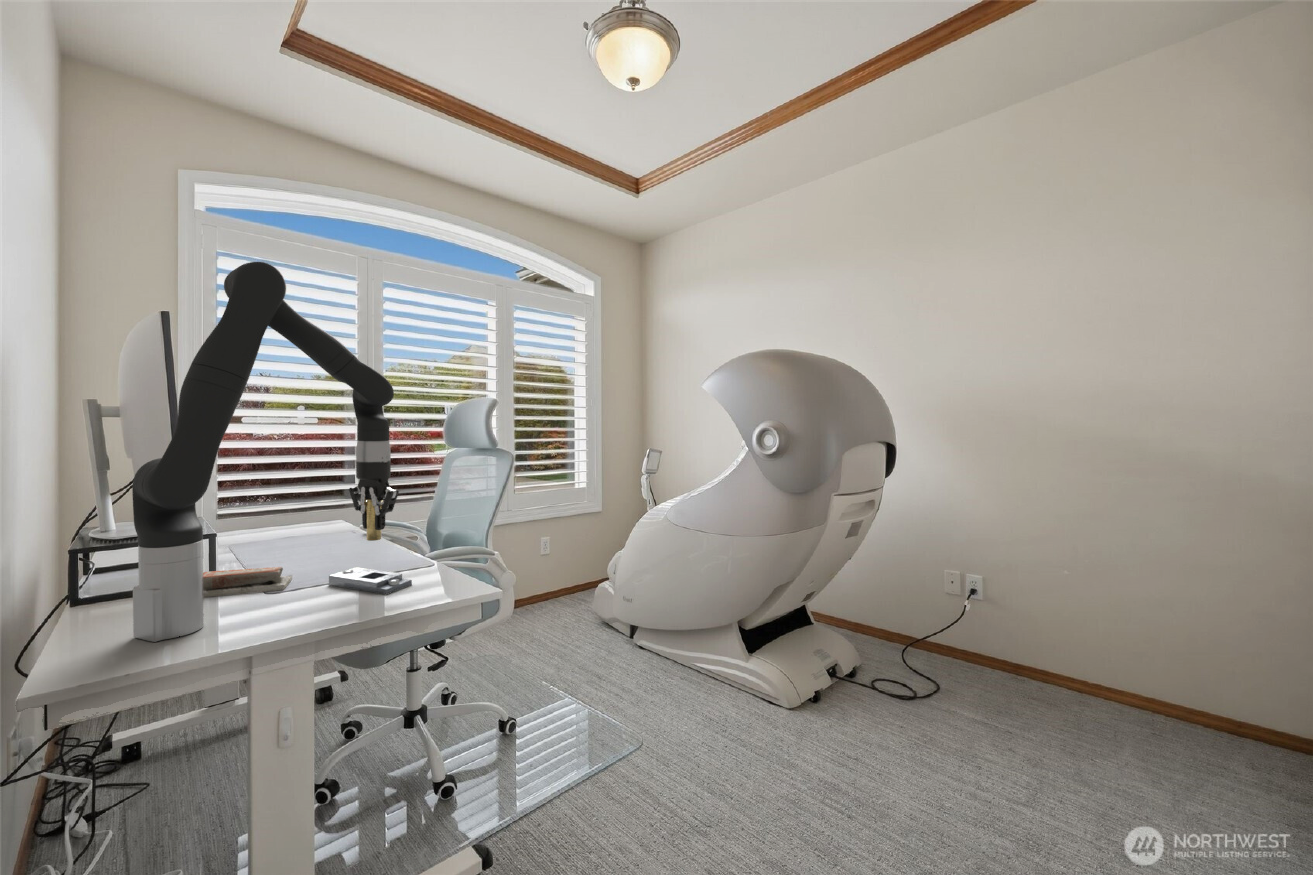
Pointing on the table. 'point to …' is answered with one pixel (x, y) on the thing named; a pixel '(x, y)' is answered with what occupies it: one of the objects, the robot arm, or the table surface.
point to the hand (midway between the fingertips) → (373, 528)
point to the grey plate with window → (369, 580)
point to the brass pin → (372, 522)
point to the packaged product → (244, 581)
